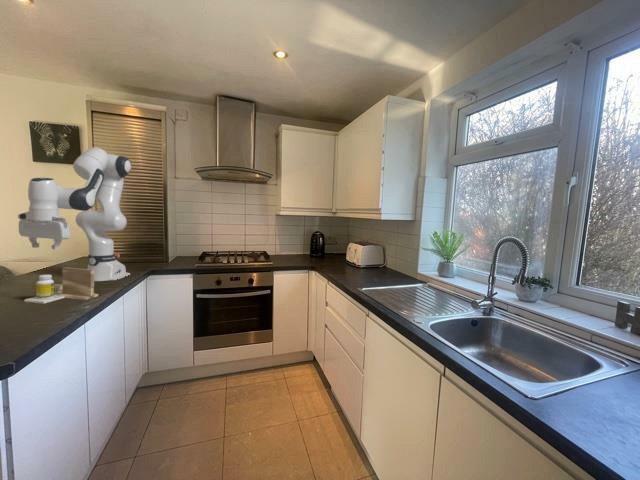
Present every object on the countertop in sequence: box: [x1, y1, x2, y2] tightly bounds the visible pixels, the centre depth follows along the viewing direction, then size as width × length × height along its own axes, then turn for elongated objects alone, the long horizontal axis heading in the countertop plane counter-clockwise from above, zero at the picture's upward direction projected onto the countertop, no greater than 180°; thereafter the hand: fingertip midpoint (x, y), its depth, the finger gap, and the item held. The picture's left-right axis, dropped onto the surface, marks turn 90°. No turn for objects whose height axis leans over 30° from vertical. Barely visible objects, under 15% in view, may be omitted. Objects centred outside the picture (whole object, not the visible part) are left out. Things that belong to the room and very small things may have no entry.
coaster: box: [24, 294, 66, 304], centre depth 119 cm, size 9×9×1 cm
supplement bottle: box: [35, 274, 55, 299], centre depth 118 cm, size 5×5×10 cm
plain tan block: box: [54, 283, 62, 295], centre depth 127 cm, size 4×4×4 cm
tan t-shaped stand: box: [58, 266, 99, 301], centre depth 124 cm, size 6×14×13 cm, turn 85°
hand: (45, 248), depth 117 cm, fingers open, 8 cm apart
